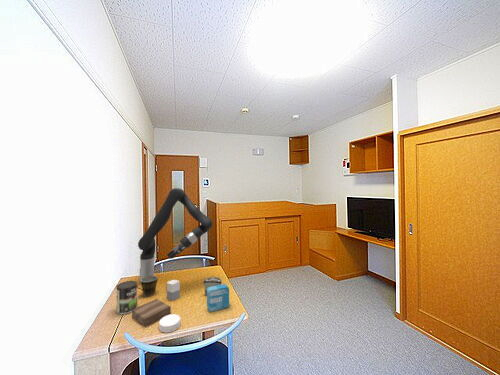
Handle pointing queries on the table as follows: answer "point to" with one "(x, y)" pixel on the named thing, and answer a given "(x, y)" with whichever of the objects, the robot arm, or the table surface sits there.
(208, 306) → the data package
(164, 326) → the coaster
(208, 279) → the food container
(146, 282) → the ceramic cup
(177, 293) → the block
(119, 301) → the coffee can
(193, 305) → the table surface
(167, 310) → the walnut stand
